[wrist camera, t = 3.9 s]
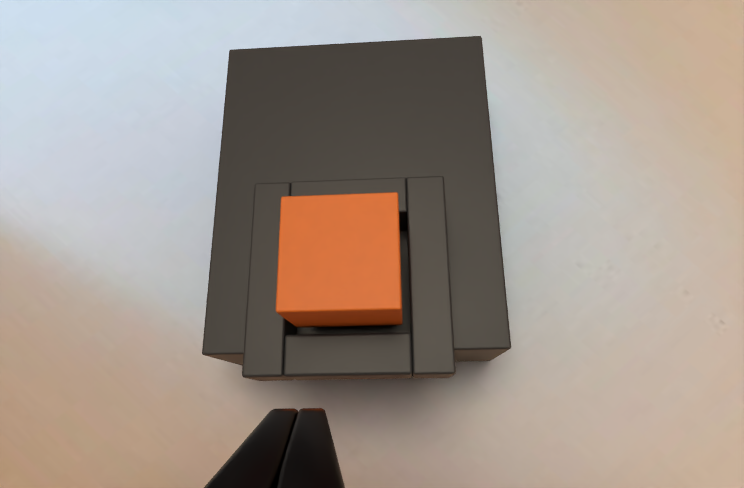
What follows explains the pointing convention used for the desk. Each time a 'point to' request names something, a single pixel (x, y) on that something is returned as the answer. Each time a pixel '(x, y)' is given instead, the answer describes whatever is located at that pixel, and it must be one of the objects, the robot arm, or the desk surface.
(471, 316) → the grey socket base
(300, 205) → the orange cube
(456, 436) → the desk surface
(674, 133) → the desk surface
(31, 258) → the desk surface
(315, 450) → the robot arm
